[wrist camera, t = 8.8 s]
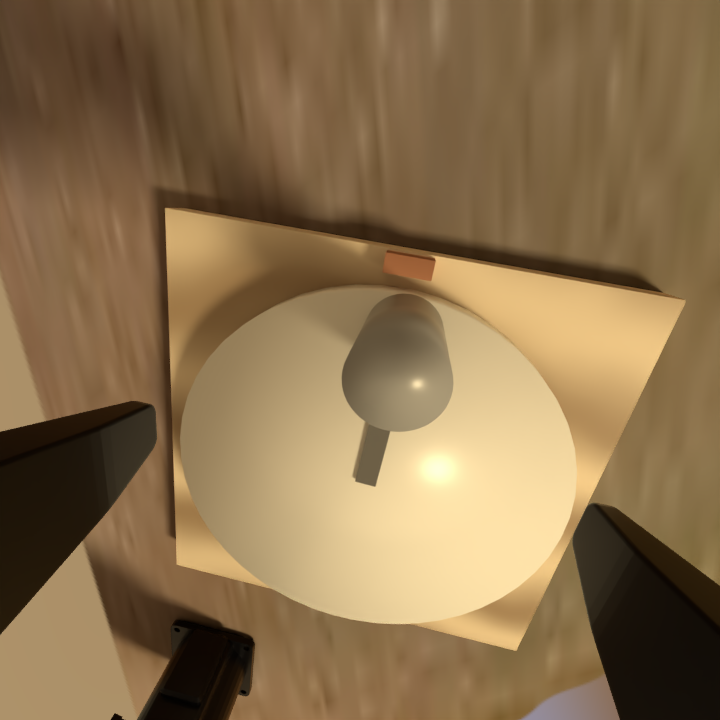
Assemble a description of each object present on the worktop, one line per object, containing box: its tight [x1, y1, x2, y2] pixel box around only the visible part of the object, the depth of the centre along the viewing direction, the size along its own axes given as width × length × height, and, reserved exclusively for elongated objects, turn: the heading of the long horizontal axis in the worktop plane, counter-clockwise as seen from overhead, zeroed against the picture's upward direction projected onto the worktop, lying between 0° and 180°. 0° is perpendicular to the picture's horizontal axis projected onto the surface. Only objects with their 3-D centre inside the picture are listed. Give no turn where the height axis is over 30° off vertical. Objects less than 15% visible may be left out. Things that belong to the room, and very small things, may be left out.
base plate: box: [165, 208, 686, 651], centre depth 21 cm, size 22×22×2 cm
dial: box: [180, 284, 577, 624], centre depth 17 cm, size 19×19×6 cm
